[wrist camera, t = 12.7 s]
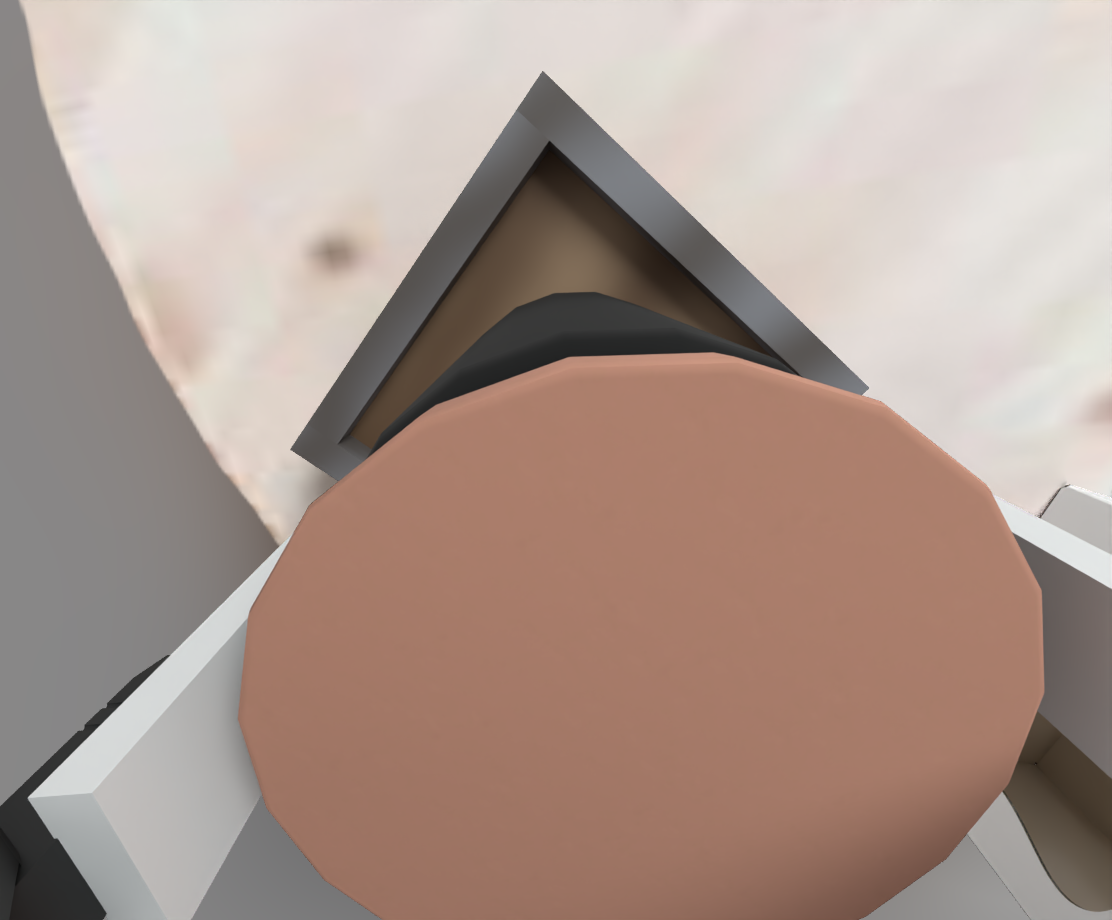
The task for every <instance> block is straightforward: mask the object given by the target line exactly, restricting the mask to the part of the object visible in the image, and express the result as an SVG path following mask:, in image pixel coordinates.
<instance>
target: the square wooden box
mask: <svg viewBox="0 0 1112 920" xmlns="http://www.w3.org/2000/svg"><path fill="white" fill-rule="evenodd" d="M571 292H598V293H601V294H604V295H608V296H611V297H614V298H617V299H620V300H624V301H627V302H630V303H633V304H636V305H639V306H641V307H644V308H646V309H649V310H651V311H654V312H657V313H659V314H662V315H664V316H667V317H669V318H672V319H675V320H677V321H680V322H682V323H685V324H688V325H690V326H693V327H695V328H698V329H700V330H703V331H706V332H708V333H711V334H713V335H716V336H718V337H721V338H724V339H726V340H729V341H731V342H734V343H736V344H739V345H742V346H744V347H747V348H749V349H752V350H754V351H757V352H760V353H762V354H765V355H767V356H770V357H772V358H775V359H777V360H779V361H780V362H781V363H782V364H784V365H785V366H786V367H788V368H789V369H790V370H792V371H793V372H794V373H795V374H797V375H798V376H799V377H803V378H806V379H809V380H813V381H816V382H819V383H822V384H826V385H829V386H832V387H835V388H839V389H842V390H845V391H849V392H852V393H855V394H858V395H862V394H864V393H865V392H866V391H867V390H868V389H869V387H868V386H867V385H866V384H865V383H864V382H863V381H862V380H861V379H860V378H859V377H857V376H856V375H855V374H854V373H853V372H852V371H851V370H850V369H849V368H848V367H847V366H846V365H845V364H844V363H843V362H842V361H841V360H840V359H839V358H838V357H837V356H836V355H835V354H834V353H833V352H832V351H831V350H830V349H829V348H828V347H827V346H826V345H825V344H823V343H822V342H821V341H820V340H819V339H818V338H817V337H816V336H815V335H814V334H813V333H812V332H811V331H810V330H809V329H808V328H807V327H806V326H805V325H804V324H803V323H802V322H801V321H800V320H799V319H798V318H797V317H796V316H795V315H794V314H793V313H792V312H791V311H790V310H788V309H787V308H786V307H785V306H784V305H783V304H782V303H781V302H780V301H779V300H778V299H777V298H776V297H775V296H774V295H773V294H772V293H771V292H770V291H769V290H768V289H767V288H766V287H765V286H764V285H763V284H762V283H761V282H760V281H759V280H758V279H757V278H756V277H754V276H753V275H752V274H751V273H750V272H749V271H748V270H747V269H746V268H745V267H744V266H743V265H742V264H741V263H740V262H739V261H738V260H737V259H736V258H735V257H734V256H733V255H732V254H731V253H730V252H729V251H728V250H727V249H726V248H725V247H724V246H723V245H722V244H721V243H719V242H718V241H717V240H716V239H715V238H714V237H713V236H712V235H711V234H710V233H709V232H708V231H707V230H706V229H705V228H704V227H703V226H702V225H701V224H700V223H699V222H698V221H697V220H696V219H695V218H694V217H693V216H692V215H691V214H690V213H689V212H688V211H687V210H685V209H684V208H683V207H682V206H681V205H680V204H679V203H678V202H677V201H676V200H675V199H674V198H673V197H672V196H671V195H670V194H669V193H668V192H667V191H666V190H665V189H664V188H663V187H662V186H661V185H660V184H659V183H658V182H657V181H656V180H655V179H654V178H653V177H652V176H650V175H649V174H648V173H647V172H646V171H645V170H644V169H643V168H642V167H641V166H640V165H639V164H638V163H637V162H636V161H635V160H634V159H633V158H632V157H631V156H630V155H629V154H628V153H627V152H626V151H625V150H624V149H623V148H622V147H621V146H620V145H619V144H618V143H616V142H615V141H614V140H613V139H612V138H611V137H610V136H609V135H608V134H607V133H606V132H605V131H604V130H603V129H602V128H601V127H600V126H599V125H598V124H597V123H596V122H595V121H594V120H593V119H592V118H591V117H590V116H589V115H588V114H587V113H586V112H585V111H584V110H583V109H581V108H580V107H579V106H578V105H577V104H576V103H575V102H574V101H573V100H572V99H571V98H570V97H569V96H568V95H567V94H566V93H565V92H564V91H563V90H562V89H561V88H560V87H559V86H558V85H557V84H556V83H555V82H554V81H553V80H552V79H551V78H550V77H549V76H547V75H546V74H545V73H544V72H543V71H542V73H541V74H540V76H539V77H538V79H537V80H536V82H535V83H534V85H533V86H532V88H531V89H530V91H529V92H528V94H527V95H526V97H525V98H524V100H523V101H522V103H521V104H520V106H519V107H518V109H517V110H516V112H515V113H514V115H513V116H512V118H511V119H510V121H509V122H508V124H507V125H506V127H505V128H504V130H503V131H502V133H501V134H500V136H499V137H498V139H497V140H496V142H495V143H494V145H493V146H492V148H491V149H490V151H489V152H488V154H487V155H486V157H485V158H484V160H483V161H482V163H481V164H480V166H479V167H478V169H477V170H476V172H475V173H474V175H473V176H472V178H471V179H470V181H469V182H468V184H467V185H466V187H465V188H464V190H463V191H462V193H461V194H460V196H459V197H458V199H457V200H456V202H455V203H454V205H453V206H452V208H451V209H450V211H449V212H448V214H447V215H446V217H445V218H444V220H443V221H442V223H441V224H440V226H439V227H438V229H437V230H436V232H435V233H434V235H433V236H432V238H431V239H430V241H429V242H428V244H427V245H426V247H425V248H424V250H423V251H422V253H421V254H420V256H419V257H418V259H417V260H416V262H415V263H414V265H413V266H412V268H411V269H410V271H409V272H408V274H407V275H406V277H405V278H404V280H403V281H402V283H401V284H400V286H399V287H398V289H397V290H396V292H395V293H394V295H393V296H392V298H391V299H390V301H389V302H388V304H387V305H386V307H385V308H384V310H383V311H382V313H381V314H380V316H379V317H378V319H377V320H376V322H375V323H374V325H373V326H372V328H371V329H370V331H369V332H368V334H367V335H366V337H365V338H364V340H363V341H362V343H361V344H360V346H359V347H358V349H357V350H356V352H355V353H354V355H353V356H352V358H351V359H350V361H349V362H348V364H347V365H346V367H345V368H344V370H343V371H342V373H341V374H340V376H339V377H338V379H337V380H336V382H335V383H334V385H333V386H332V388H331V389H330V391H329V392H328V394H327V395H326V397H325V398H324V400H323V401H322V403H321V404H320V406H319V407H318V409H317V410H316V412H315V413H314V415H313V416H312V418H311V419H310V421H309V422H308V424H307V425H306V427H305V428H304V430H303V431H302V433H301V434H300V436H299V437H298V439H297V440H296V442H295V443H294V445H293V446H292V448H291V449H290V450H292V451H293V452H295V453H296V454H298V455H299V456H301V457H302V458H304V459H305V460H307V461H308V462H310V463H311V464H313V465H315V466H316V467H318V468H319V469H321V470H322V471H324V472H325V473H327V474H328V475H330V476H331V477H333V478H334V479H336V480H337V481H340V480H341V479H342V478H344V477H345V476H346V475H347V474H349V473H350V472H351V471H352V470H353V469H355V468H356V467H357V466H358V465H360V464H361V463H362V462H363V461H365V460H366V458H367V457H368V455H369V453H370V452H371V450H372V448H373V446H374V445H375V443H376V441H377V440H378V438H379V436H380V435H381V433H382V432H383V431H384V430H385V429H386V428H387V427H388V426H389V425H390V424H391V423H392V422H393V421H394V420H396V419H397V418H398V417H399V416H400V415H401V414H402V413H403V412H404V411H405V410H406V409H407V408H408V407H409V406H410V405H411V404H412V403H413V402H414V401H415V400H416V399H417V398H418V397H419V396H420V395H421V394H422V393H423V392H424V391H425V390H426V389H427V388H429V387H430V386H431V385H432V384H433V383H434V382H435V381H436V380H437V379H438V378H439V377H440V376H441V375H442V374H443V373H444V372H445V371H446V370H447V369H448V368H449V367H450V366H451V365H452V364H453V363H454V362H455V361H456V360H457V359H458V358H459V357H460V356H462V355H463V354H464V353H465V352H466V351H467V350H468V349H469V348H470V347H471V346H472V345H473V344H474V343H475V342H476V341H477V340H478V339H479V338H480V337H481V336H482V335H483V334H484V333H485V332H487V331H488V330H489V329H490V328H491V327H493V326H494V325H495V324H496V323H498V322H499V321H500V320H501V319H502V318H504V317H505V316H506V315H507V314H508V313H510V312H511V311H512V310H513V309H515V308H516V307H518V306H521V305H524V304H526V303H529V302H532V301H534V300H537V299H540V298H542V297H545V296H548V295H550V294H553V293H571Z"/></svg>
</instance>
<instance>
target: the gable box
mask: <svg viewBox="0 0 1112 920" xmlns="http://www.w3.org/2000/svg"><path fill="white" fill-rule="evenodd" d="M1040 519H1042V520H1044V521H1046V522H1048V523H1050V524H1052V525H1054V526H1056V527H1058V528H1060V529H1062V530H1064V531H1066V532H1068V533H1070V534H1072V535H1074V536H1075V537H1077V538H1079V539H1081V540H1083V541H1085V542H1087V543H1089V544H1091V545H1093V546H1095V547H1097V548H1099V549H1101V550H1103V551H1105V552H1107V553H1109V554H1111V555H1112V497H1109V496H1106V495H1102V494H1099V493H1096V492H1093V491H1089V490H1086V489H1083V488H1080V487H1076V486H1073V485H1067V486H1065V487H1064V488H1061V489H1060V491H1059V492H1058V494H1057V495H1056V497H1055V498H1054V500H1053V501H1052V502H1051V504H1050V505H1049V507H1048V508H1047V510H1046V511H1045V512H1044V514H1043V515H1042V517H1041V518H1040ZM1034 762H1035V764H1036V765H1035V764H1034ZM967 835H968V836H969V838H970V839H971V840H972V842H973V843H974V844H975V846H976V847H977V848H978V850H979V851H980V852H981V854H982V855H983V856H984V858H985V859H986V860H987V862H988V863H989V865H990V866H991V867H992V869H993V870H994V871H995V873H996V874H997V875H998V877H999V878H1000V879H1001V881H1002V882H1003V883H1004V885H1005V886H1006V887H1007V889H1008V890H1009V891H1010V893H1011V894H1012V896H1013V897H1014V898H1015V900H1016V901H1017V902H1018V903H1019V905H1020V906H1021V907H1022V909H1023V910H1024V912H1025V913H1026V914H1027V916H1028V917H1029V918H1030V920H1112V779H1111V778H1110V777H1109V776H1108V775H1107V774H1106V773H1105V772H1104V771H1103V770H1101V769H1100V768H1099V767H1098V766H1097V765H1096V764H1095V763H1094V762H1093V761H1092V760H1091V759H1089V758H1088V757H1087V756H1086V755H1085V754H1084V753H1083V752H1082V751H1081V750H1080V749H1078V748H1077V747H1076V746H1075V745H1074V744H1073V743H1072V742H1071V741H1070V740H1069V739H1068V738H1066V737H1065V736H1064V735H1063V734H1062V733H1061V732H1060V731H1059V730H1058V729H1057V728H1056V727H1054V726H1053V725H1052V724H1051V723H1050V722H1049V721H1048V720H1047V719H1046V718H1045V717H1043V716H1042V715H1041V714H1040V713H1039V712H1038V711H1037V713H1036V715H1035V718H1034V720H1033V723H1032V725H1031V728H1030V731H1029V733H1028V736H1027V738H1026V741H1025V743H1024V746H1023V748H1022V751H1021V754H1020V756H1019V759H1018V761H1017V764H1016V766H1015V769H1014V771H1013V774H1012V777H1011V779H1010V782H1009V784H1008V785H1007V786H1006V788H1005V789H1004V790H1003V791H1002V792H1001V794H1000V795H999V796H998V797H997V798H996V800H995V801H994V802H993V803H992V804H991V806H990V807H989V808H988V809H987V810H986V812H985V813H984V814H983V815H982V816H981V818H980V819H979V820H978V821H977V822H976V824H975V825H974V826H973V827H972V828H971V830H970V831H969V832H968V833H967Z"/></svg>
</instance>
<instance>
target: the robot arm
mask: <svg viewBox="0 0 1112 920" xmlns="http://www.w3.org/2000/svg"><path fill="white" fill-rule="evenodd" d="M993 496H994V498H995V500H996V502H997V504H998V506H999V508H1000V510H1001V512H1002V514H1003V516H1004V518H1005V520H1006V522H1007V524H1008V526H1009V528H1010V530H1011V532H1012V533H1013V535H1014V537H1015V539H1016V541H1017V543H1018V545H1019V547H1020V549H1021V551H1022V553H1023V555H1024V557H1025V559H1026V561H1027V563H1028V565H1029V567H1030V569H1031V571H1032V573H1033V574H1034V576H1035V578H1036V580H1037V582H1038V584H1039V586H1040V588H1041V590H1042V617H1043V656H1044V695H1043V697H1042V700H1041V702H1040V705H1039V708H1038V710H1037V711H1038V712H1039V713H1040V714H1041V715H1042V716H1043V717H1045V718H1046V719H1047V720H1048V721H1049V722H1050V723H1051V724H1052V725H1053V726H1054V727H1056V728H1057V729H1058V730H1059V731H1060V732H1061V733H1062V734H1063V735H1064V736H1065V737H1066V738H1068V739H1069V740H1070V741H1071V742H1072V743H1073V744H1074V745H1075V746H1076V747H1077V748H1078V749H1080V750H1081V751H1082V752H1083V753H1084V754H1085V755H1086V756H1087V757H1088V758H1089V759H1091V760H1092V761H1093V762H1094V763H1095V764H1096V765H1097V766H1098V767H1099V768H1100V769H1101V770H1103V771H1104V772H1105V773H1106V774H1107V775H1108V776H1109V777H1110V778H1111V779H1112V555H1111V554H1109V553H1107V552H1105V551H1103V550H1101V549H1099V548H1097V547H1095V546H1093V545H1091V544H1089V543H1087V542H1085V541H1083V540H1081V539H1079V538H1077V537H1075V536H1074V535H1072V534H1070V533H1068V532H1066V531H1064V530H1062V529H1060V528H1058V527H1056V526H1054V525H1052V524H1050V523H1048V522H1046V521H1044V520H1042V519H1040V518H1038V517H1036V516H1034V515H1032V514H1030V513H1029V512H1027V511H1025V510H1023V509H1021V508H1019V507H1017V506H1015V505H1013V504H1011V503H1009V502H1007V501H1005V500H1003V499H1001V498H999V497H997V496H995V495H993ZM292 535H293V534H292ZM292 535H291V536H292ZM291 536H290V537H289V538H288V539H287V540H286V541H285V542H284V543H283V544H282V545H281V546H280V547H279V548H278V549H277V550H276V551H275V552H274V553H273V554H272V555H271V556H270V557H269V558H268V559H267V560H266V561H265V562H264V563H263V564H262V565H261V566H260V567H259V568H258V569H257V570H256V571H255V572H254V573H253V574H252V575H251V576H250V577H249V578H248V579H247V580H246V581H245V582H244V583H243V584H242V585H241V586H240V587H239V588H238V589H237V590H236V591H235V592H234V593H233V594H232V595H231V596H230V597H229V598H228V599H227V600H226V601H225V602H224V603H223V604H222V605H220V607H218V609H216V611H214V613H212V614H211V615H210V616H209V618H207V620H206V621H205V622H203V624H201V626H199V627H198V629H197V630H195V631H194V632H193V633H192V634H191V635H190V636H189V638H188V639H187V640H185V641H184V642H183V643H182V644H181V645H180V647H179V648H177V649H176V650H175V651H174V652H173V653H172V654H171V655H167V656H165V657H164V658H162V659H161V660H159V661H158V662H156V663H155V664H153V665H152V666H151V667H149V668H148V669H146V670H145V671H143V672H142V673H140V674H139V675H137V676H136V677H134V678H133V679H132V680H131V681H130V682H129V683H128V684H127V685H126V686H125V687H124V688H123V689H122V690H121V691H119V692H118V693H117V694H116V696H114V697H113V698H112V699H111V700H110V701H109V702H108V703H107V707H106V708H103V709H101V710H100V711H99V712H98V713H97V714H96V715H95V716H94V717H93V718H92V719H91V720H89V721H88V722H87V723H86V724H85V728H84V730H83V731H78V732H77V733H76V734H75V735H74V736H73V737H72V738H71V739H70V740H69V741H68V742H67V743H66V744H64V745H63V746H62V747H61V748H60V749H59V750H58V751H57V752H56V753H55V754H54V755H53V756H52V757H51V758H50V759H49V760H48V761H47V762H46V763H45V764H44V765H43V766H42V767H41V768H40V769H39V770H37V772H35V773H34V774H33V775H32V776H31V777H30V778H29V779H28V780H27V781H26V782H25V783H24V784H23V785H22V786H21V787H20V788H19V789H18V790H17V791H16V792H15V793H14V794H13V795H12V796H10V797H9V798H8V799H7V800H6V801H5V802H4V803H3V804H2V805H1V806H0V920H103V919H104V917H105V916H106V918H107V919H108V920H191V919H192V917H193V915H194V914H195V912H196V910H197V908H198V906H199V905H200V903H201V901H202V899H203V898H204V896H205V894H206V892H207V891H208V889H209V887H210V885H211V883H212V882H213V880H214V878H215V876H216V875H217V873H218V871H219V869H220V867H221V866H222V864H223V862H224V860H225V858H226V857H227V855H228V853H229V851H230V850H231V848H232V846H233V844H234V842H235V841H236V839H237V837H238V835H239V833H240V832H241V830H242V828H243V827H244V825H245V823H246V821H247V819H248V818H249V815H250V814H251V812H252V811H253V809H254V807H255V805H256V803H257V802H258V800H259V798H260V796H261V794H262V792H261V789H260V786H259V783H258V780H257V777H256V774H255V771H254V768H253V765H252V761H251V758H250V755H249V752H248V749H247V746H246V743H245V740H244V737H243V734H242V731H241V728H240V725H239V721H238V710H239V701H240V691H241V681H242V671H243V661H244V652H245V642H246V632H247V622H248V615H249V611H250V608H251V607H252V605H253V603H254V601H255V600H256V598H257V596H258V594H259V593H260V591H261V589H262V587H263V586H264V584H265V582H266V580H267V579H268V577H269V575H270V573H271V572H272V570H273V568H274V566H275V565H276V563H277V561H278V559H279V558H280V556H281V554H282V552H283V551H284V549H285V547H286V545H287V543H288V542H289V540H290V538H291Z"/></svg>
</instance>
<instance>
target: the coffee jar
mask: <svg viewBox="0 0 1112 920" xmlns="http://www.w3.org/2000/svg"><path fill="white" fill-rule="evenodd" d="M1043 695H1044V656H1043V617H1042V590H1041V588H1040V586H1039V584H1038V582H1037V580H1036V578H1035V576H1034V574H1033V573H1032V571H1031V569H1030V567H1029V565H1028V563H1027V561H1026V559H1025V557H1024V555H1023V553H1022V551H1021V549H1020V547H1019V545H1018V543H1017V541H1016V539H1015V537H1014V535H1013V533H1012V532H1011V530H1010V528H1009V526H1008V524H1007V522H1006V520H1005V518H1004V516H1003V514H1002V512H1001V510H1000V508H999V506H998V504H997V502H996V500H995V498H994V496H993V494H992V492H991V491H990V489H989V488H988V487H987V485H986V484H985V483H984V482H982V481H981V480H980V479H979V478H977V477H976V476H975V475H974V474H972V473H971V472H970V471H969V470H967V469H966V468H965V467H963V466H962V465H961V464H960V463H958V462H957V461H956V460H955V459H953V458H952V457H951V456H950V455H948V454H947V453H946V452H944V451H943V450H942V449H941V448H939V447H938V446H937V445H936V444H934V443H933V442H932V441H931V440H929V439H928V438H927V437H926V436H924V435H923V434H922V433H920V432H919V431H918V430H917V429H915V428H914V427H913V426H912V425H910V424H909V423H908V422H907V421H905V420H904V419H903V418H901V417H900V416H899V415H898V414H896V413H895V412H894V411H893V410H891V409H890V408H889V407H888V406H886V405H885V404H884V403H883V402H881V401H878V400H875V399H871V398H868V397H865V396H862V395H858V394H855V393H852V392H849V391H845V390H842V389H839V388H835V387H832V386H829V385H826V384H822V383H819V382H816V381H813V380H809V379H806V378H803V377H799V376H798V375H797V374H795V373H794V372H793V371H792V370H790V369H789V368H788V367H786V366H785V365H784V364H782V363H781V362H780V361H779V360H777V359H775V358H772V357H770V356H767V355H765V354H762V353H760V352H757V351H754V350H752V349H749V348H747V347H744V346H742V345H739V344H736V343H734V342H731V341H729V340H726V339H724V338H721V337H718V336H716V335H713V334H711V333H708V332H706V331H703V330H700V329H698V328H695V327H693V326H690V325H688V324H685V323H682V322H680V321H677V320H675V319H672V318H669V317H667V316H664V315H662V314H659V313H657V312H654V311H651V310H649V309H646V308H644V307H641V306H639V305H636V304H633V303H630V302H627V301H624V300H620V299H617V298H614V297H611V296H608V295H604V294H601V293H598V292H571V293H553V294H550V295H548V296H545V297H542V298H540V299H537V300H534V301H532V302H529V303H526V304H524V305H521V306H518V307H516V308H515V309H513V310H512V311H511V312H510V313H508V314H507V315H506V316H505V317H504V318H502V319H501V320H500V321H499V322H498V323H496V324H495V325H494V326H493V327H491V328H490V329H489V330H488V331H487V332H485V333H484V334H483V335H482V336H481V337H480V338H479V339H478V340H477V341H476V342H475V343H474V344H473V345H472V346H471V347H470V348H469V349H468V350H467V351H466V352H465V353H464V354H463V355H462V356H460V357H459V358H458V359H457V360H456V361H455V362H454V363H453V364H452V365H451V366H450V367H449V368H448V369H447V370H446V371H445V372H444V373H443V374H442V375H441V376H440V377H439V378H438V379H437V380H436V381H435V382H434V383H433V384H432V385H431V386H430V387H429V388H427V389H426V390H425V391H424V392H423V393H422V394H421V395H420V396H419V397H418V398H417V399H416V400H415V401H414V402H413V403H412V404H411V405H410V406H409V407H408V408H407V409H406V410H405V411H404V412H403V413H402V414H401V415H400V416H399V417H398V418H397V419H396V420H394V421H393V422H392V423H391V424H390V425H389V426H388V427H387V428H386V429H385V430H384V431H383V432H382V433H381V435H380V436H379V438H378V440H377V441H376V443H375V445H374V446H373V448H372V450H371V452H370V453H369V455H368V457H367V458H366V460H365V461H363V462H362V463H361V464H360V465H358V466H357V467H356V468H355V469H353V470H352V471H351V472H350V473H349V474H347V475H346V476H345V477H344V478H342V479H341V480H340V481H339V482H337V483H336V484H335V485H334V486H332V487H331V488H330V489H329V490H327V491H326V492H325V493H324V494H322V495H321V496H320V497H319V498H317V499H316V500H315V501H314V502H313V503H311V504H310V505H309V507H308V508H307V510H306V512H305V514H304V515H303V517H302V519H301V521H300V522H299V524H298V526H297V528H296V529H295V531H294V533H293V535H292V536H291V538H290V540H289V542H288V543H287V545H286V547H285V549H284V551H283V552H282V554H281V556H280V558H279V559H278V561H277V563H276V565H275V566H274V568H273V570H272V572H271V573H270V575H269V577H268V579H267V580H266V582H265V584H264V586H263V587H262V589H261V591H260V593H259V594H258V596H257V598H256V600H255V601H254V603H253V605H252V607H251V608H250V611H249V615H248V622H247V632H246V642H245V652H244V661H243V671H242V681H241V691H240V701H239V710H238V721H239V725H240V728H241V731H242V734H243V737H244V740H245V743H246V746H247V749H248V752H249V755H250V758H251V761H252V765H253V768H254V771H255V774H256V777H257V780H258V783H259V786H260V789H261V792H262V795H263V798H264V801H265V805H266V808H267V809H268V811H269V812H270V813H271V814H272V815H273V817H274V818H275V819H276V820H277V822H278V823H279V824H280V825H281V827H282V828H283V829H284V831H285V832H286V833H287V834H288V836H289V837H290V838H291V839H292V840H293V841H294V843H295V844H296V845H297V847H298V848H299V849H300V850H301V852H302V853H303V854H304V855H305V857H306V858H307V859H308V860H309V862H310V863H311V864H312V865H313V867H314V868H315V869H316V870H317V872H318V873H319V874H320V875H321V876H322V878H323V879H324V880H325V881H326V882H328V883H329V884H331V885H332V886H334V887H335V888H337V889H338V890H340V891H341V892H343V893H344V894H345V895H347V896H348V897H350V898H351V899H353V900H354V901H356V902H357V903H359V904H360V905H362V906H363V907H365V908H366V909H367V910H369V911H370V912H372V913H373V914H375V915H376V916H378V917H379V918H381V919H382V920H859V919H861V918H864V917H866V916H867V915H869V914H870V913H871V912H873V911H874V910H876V909H877V908H878V907H880V906H881V905H882V904H884V903H885V902H887V901H888V900H890V899H891V898H892V897H894V896H895V895H897V894H898V893H899V892H901V891H902V890H903V889H905V888H906V887H908V886H909V885H911V884H912V883H913V882H915V881H916V880H917V879H919V878H920V877H921V876H923V875H925V874H926V873H927V872H929V871H930V870H932V869H933V868H934V867H936V866H937V865H938V864H940V863H941V862H943V861H944V860H946V859H947V857H948V856H949V855H950V854H951V852H952V851H953V850H954V849H955V848H956V846H957V845H958V844H959V843H960V842H961V840H962V839H963V838H964V837H965V836H966V834H967V833H968V832H969V831H970V830H971V828H972V827H973V826H974V825H975V824H976V822H977V821H978V820H979V819H980V818H981V816H982V815H983V814H984V813H985V812H986V810H987V809H988V808H989V807H990V806H991V804H992V803H993V802H994V801H995V800H996V798H997V797H998V796H999V795H1000V794H1001V792H1002V791H1003V790H1004V789H1005V788H1006V786H1007V785H1008V784H1009V782H1010V779H1011V777H1012V774H1013V771H1014V769H1015V766H1016V764H1017V761H1018V759H1019V756H1020V754H1021V751H1022V748H1023V746H1024V743H1025V741H1026V738H1027V736H1028V733H1029V731H1030V728H1031V725H1032V723H1033V720H1034V718H1035V715H1036V713H1037V710H1038V708H1039V705H1040V702H1041V700H1042V697H1043Z"/></svg>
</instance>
